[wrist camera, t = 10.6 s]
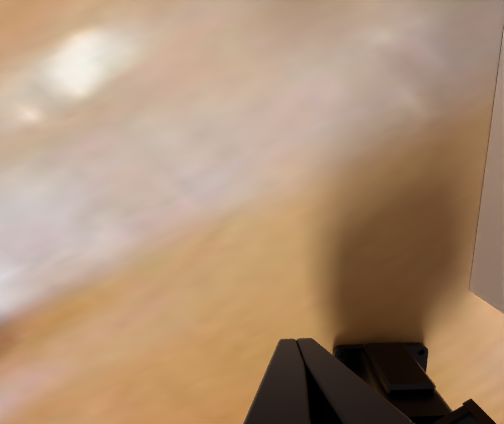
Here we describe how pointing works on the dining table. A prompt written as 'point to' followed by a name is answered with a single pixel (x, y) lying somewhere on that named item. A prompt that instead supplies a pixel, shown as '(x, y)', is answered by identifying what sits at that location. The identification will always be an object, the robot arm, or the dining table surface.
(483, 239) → the riser
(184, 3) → the dining table surface
